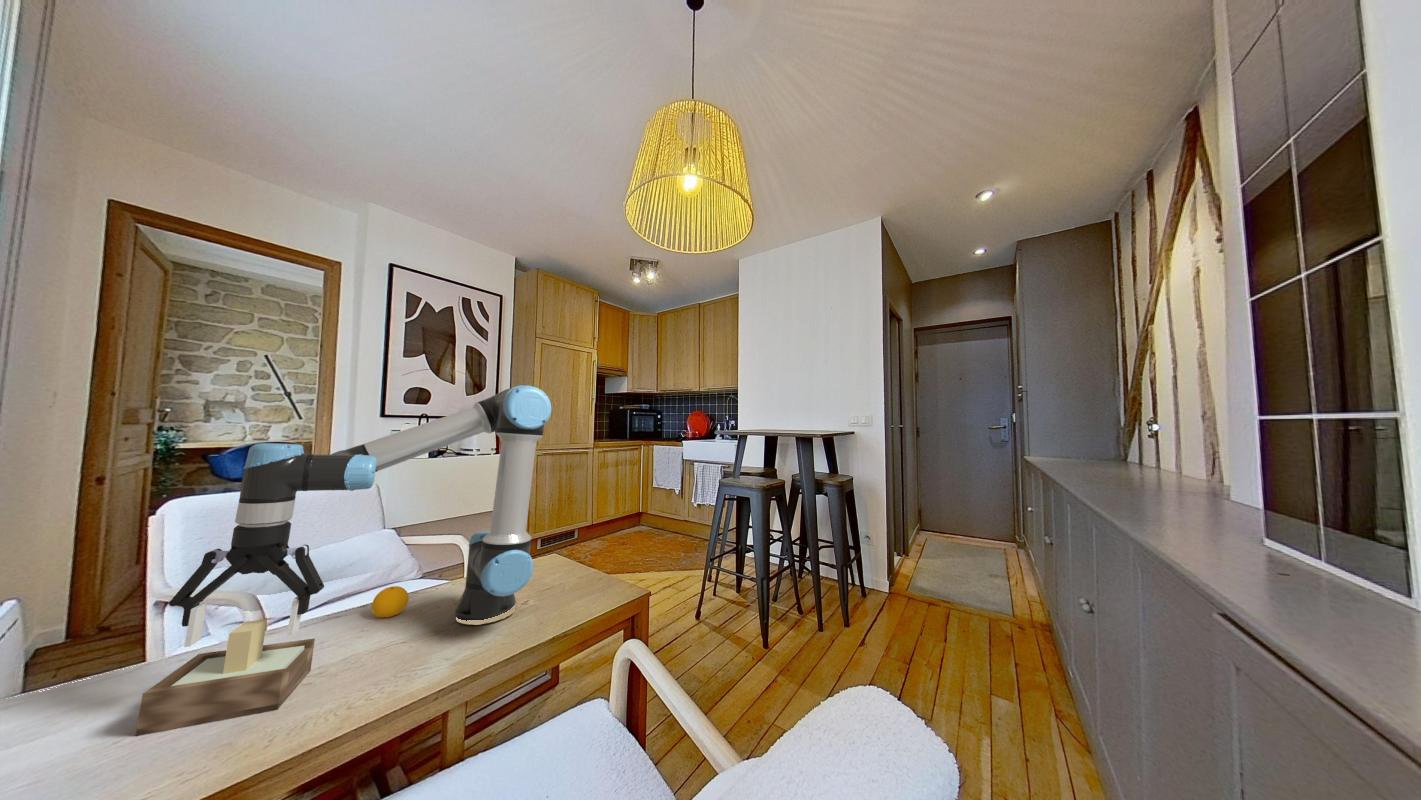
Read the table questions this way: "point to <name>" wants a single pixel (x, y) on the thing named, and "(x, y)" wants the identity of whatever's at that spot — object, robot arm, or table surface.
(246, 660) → the lid
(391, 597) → the orange
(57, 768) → the table surface
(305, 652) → the case
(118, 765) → the table surface
